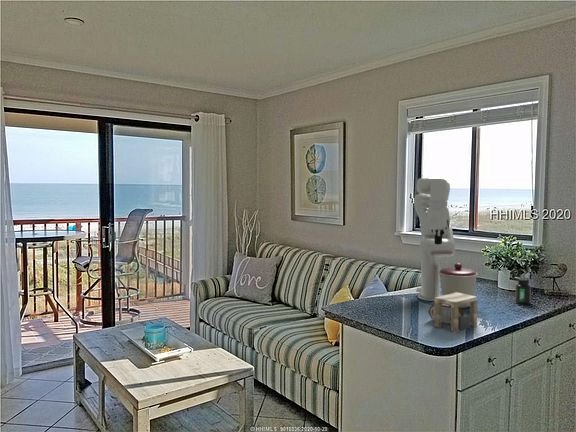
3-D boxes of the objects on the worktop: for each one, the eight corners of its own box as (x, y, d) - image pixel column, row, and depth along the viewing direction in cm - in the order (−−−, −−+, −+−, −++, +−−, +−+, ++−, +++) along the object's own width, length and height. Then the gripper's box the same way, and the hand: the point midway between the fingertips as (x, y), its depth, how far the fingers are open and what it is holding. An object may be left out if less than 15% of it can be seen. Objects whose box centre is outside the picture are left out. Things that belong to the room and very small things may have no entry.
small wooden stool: (434, 326, 190) (434, 297, 189) (456, 320, 198) (456, 292, 197) (455, 332, 181) (455, 302, 181) (476, 325, 190) (477, 296, 189)
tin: (465, 325, 190) (465, 306, 190) (462, 327, 188) (462, 307, 187) (430, 319, 200) (431, 300, 199) (428, 321, 198) (428, 302, 197)
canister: (481, 311, 211) (481, 267, 210) (441, 309, 215) (441, 266, 213) (473, 301, 229) (474, 260, 227) (436, 300, 232) (436, 259, 231)
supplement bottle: (523, 305, 220) (524, 281, 219) (512, 302, 226) (512, 278, 225) (533, 304, 222) (534, 280, 222) (522, 300, 229) (522, 277, 228)
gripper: (420, 204, 212) (419, 243, 213) (447, 205, 200) (447, 246, 201) (430, 204, 216) (430, 242, 217) (457, 204, 204) (457, 245, 205)
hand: (438, 244), depth 209 cm, fingers closed
